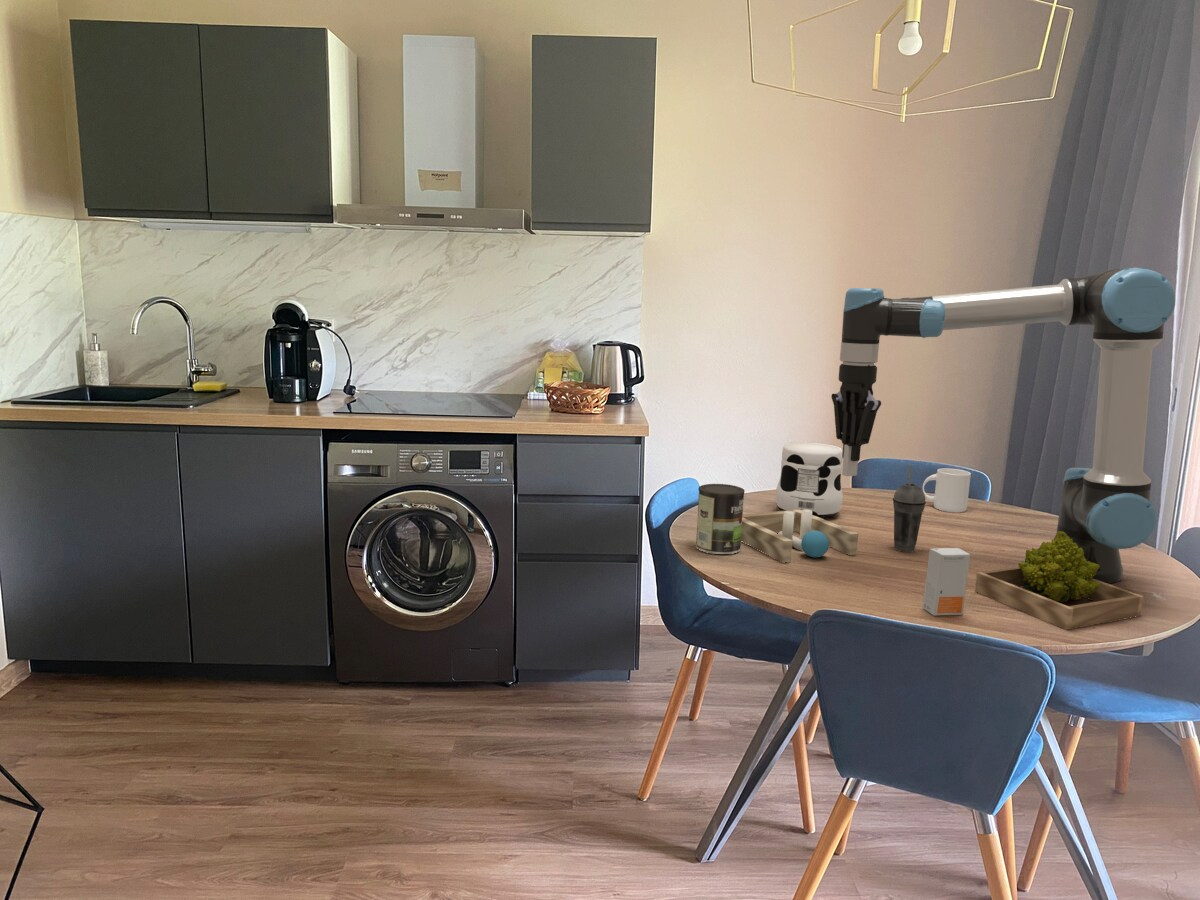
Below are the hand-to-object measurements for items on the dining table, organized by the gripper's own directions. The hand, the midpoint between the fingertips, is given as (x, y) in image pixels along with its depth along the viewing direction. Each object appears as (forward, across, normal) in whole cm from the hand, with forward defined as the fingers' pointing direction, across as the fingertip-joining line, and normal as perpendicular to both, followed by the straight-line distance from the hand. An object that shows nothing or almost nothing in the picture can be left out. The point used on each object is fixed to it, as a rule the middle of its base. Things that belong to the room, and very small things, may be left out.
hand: (849, 475), depth 185 cm
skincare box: (+21, -28, -1) cm, 35 cm away
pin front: (+19, +13, +1) cm, 23 cm away
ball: (+17, +8, +1) cm, 19 cm away
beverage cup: (+21, +6, -23) cm, 32 cm away
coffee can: (+21, +20, +19) cm, 34 cm away
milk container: (+21, +40, -21) cm, 50 cm away
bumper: (+20, +17, +1) cm, 27 cm away
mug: (+21, +33, -62) cm, 73 cm away
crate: (+21, -32, -26) cm, 46 cm away
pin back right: (+20, +16, -2) cm, 26 cm away
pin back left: (+20, +16, +3) cm, 26 cm away
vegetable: (+21, -30, -28) cm, 46 cm away
